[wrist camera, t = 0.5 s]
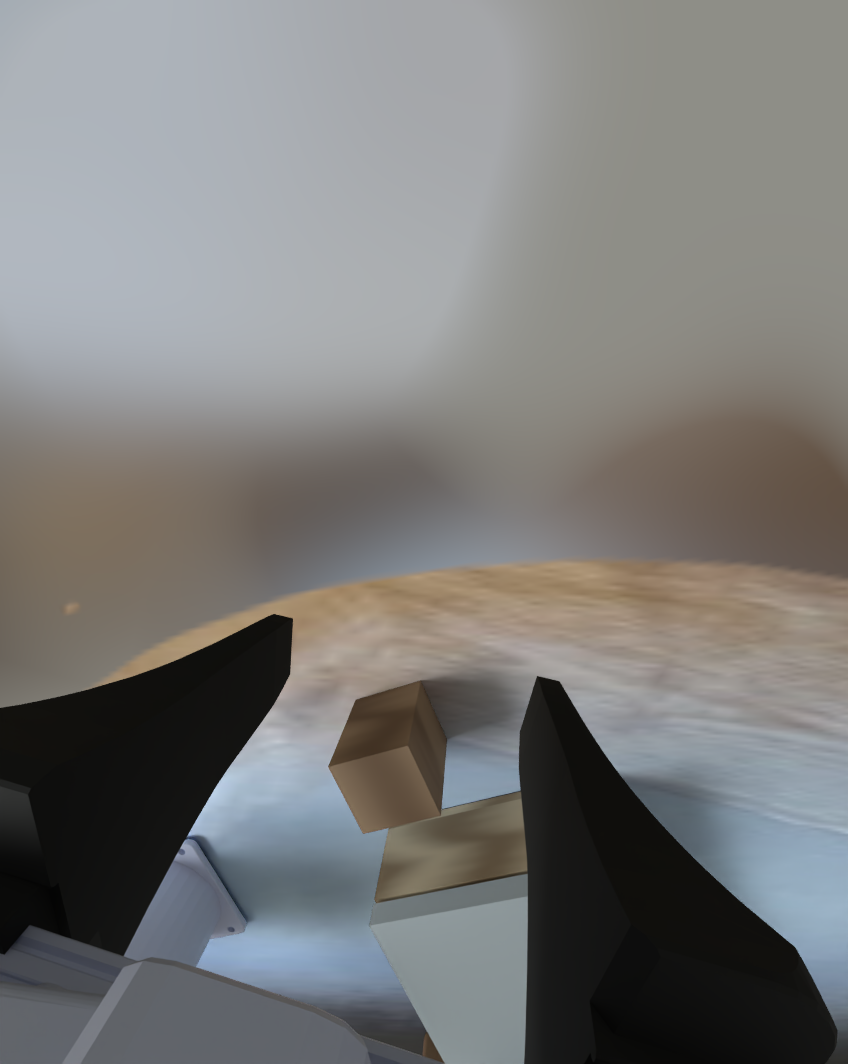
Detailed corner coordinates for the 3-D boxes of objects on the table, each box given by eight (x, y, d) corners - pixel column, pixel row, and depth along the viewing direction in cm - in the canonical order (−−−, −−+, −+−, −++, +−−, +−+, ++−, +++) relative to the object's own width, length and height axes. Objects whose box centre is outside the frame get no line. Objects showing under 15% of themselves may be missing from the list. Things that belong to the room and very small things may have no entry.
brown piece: (470, 981, 30) (470, 1078, 25) (389, 821, 27) (374, 899, 23) (651, 954, 27) (685, 1055, 23) (584, 776, 25) (608, 853, 20)
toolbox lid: (470, 1083, 25) (470, 1186, 22) (373, 903, 22) (355, 990, 19) (687, 1060, 23) (723, 1171, 20) (609, 857, 20) (636, 946, 17)
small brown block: (383, 755, 26) (363, 833, 21) (356, 699, 25) (328, 767, 20) (446, 739, 25) (440, 815, 20) (420, 680, 24) (407, 745, 19)
